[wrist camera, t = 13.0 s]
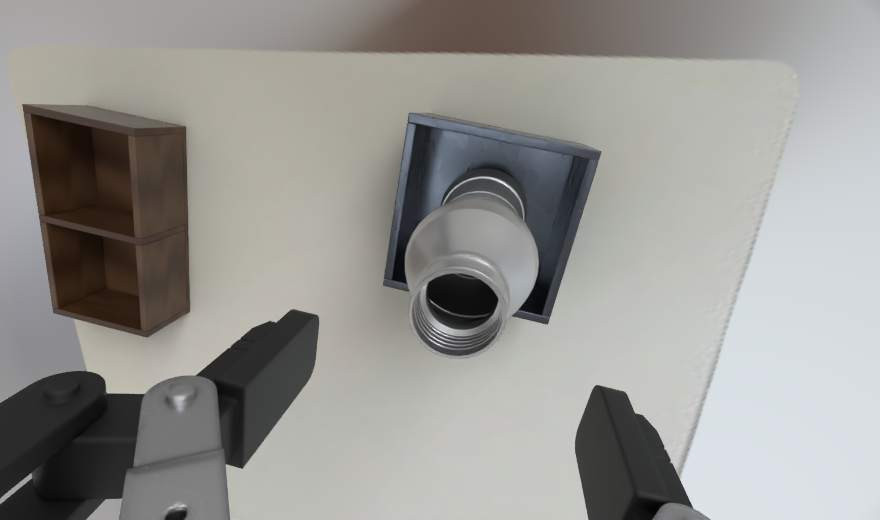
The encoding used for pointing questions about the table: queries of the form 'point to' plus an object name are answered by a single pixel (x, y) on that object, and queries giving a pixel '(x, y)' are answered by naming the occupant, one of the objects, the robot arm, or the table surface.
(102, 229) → the divided box
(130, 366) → the table surface
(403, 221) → the dark grey open box
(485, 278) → the silver metal bottle
